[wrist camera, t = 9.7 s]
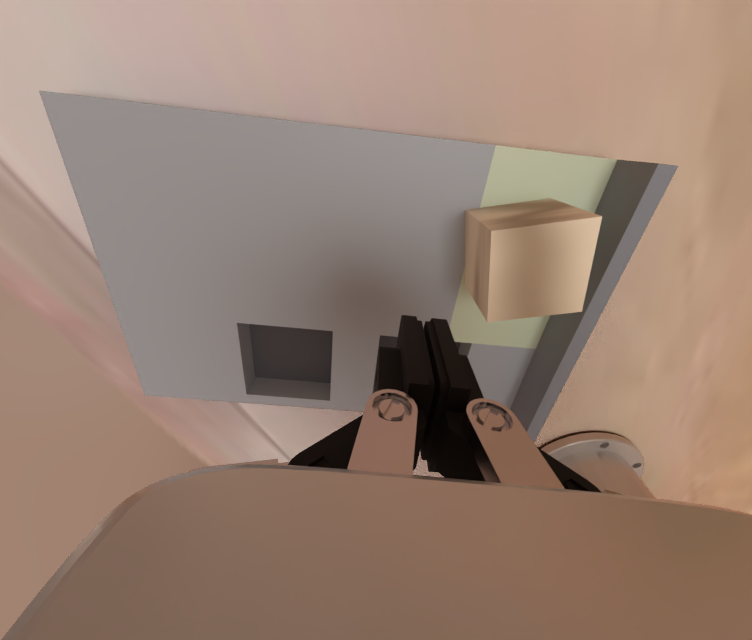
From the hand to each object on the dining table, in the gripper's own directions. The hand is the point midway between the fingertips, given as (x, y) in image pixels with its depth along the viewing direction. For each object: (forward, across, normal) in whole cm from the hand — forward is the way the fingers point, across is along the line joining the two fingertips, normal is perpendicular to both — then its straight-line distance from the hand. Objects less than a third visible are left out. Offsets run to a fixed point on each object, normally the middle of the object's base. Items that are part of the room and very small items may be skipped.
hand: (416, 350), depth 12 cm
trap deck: (+12, +4, +3) cm, 13 cm away
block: (+10, -6, -2) cm, 12 cm away
